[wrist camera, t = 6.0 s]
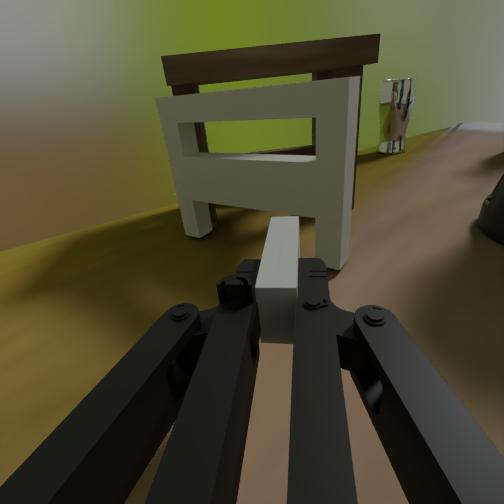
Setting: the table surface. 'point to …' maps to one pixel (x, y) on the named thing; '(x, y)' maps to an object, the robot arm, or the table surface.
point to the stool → (272, 75)
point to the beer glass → (395, 113)
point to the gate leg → (269, 158)
